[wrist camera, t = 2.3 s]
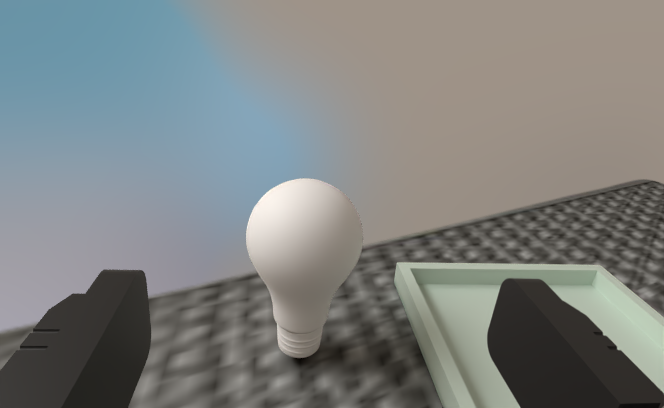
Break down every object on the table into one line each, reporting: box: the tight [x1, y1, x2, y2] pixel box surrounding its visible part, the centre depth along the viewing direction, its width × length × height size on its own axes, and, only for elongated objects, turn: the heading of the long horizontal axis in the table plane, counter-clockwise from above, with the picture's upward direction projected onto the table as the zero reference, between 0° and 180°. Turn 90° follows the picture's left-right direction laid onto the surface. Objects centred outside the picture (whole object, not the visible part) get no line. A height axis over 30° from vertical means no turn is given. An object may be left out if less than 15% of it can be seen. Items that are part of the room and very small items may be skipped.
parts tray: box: [394, 262, 664, 408], centre depth 27 cm, size 17×17×2 cm
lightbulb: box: [246, 179, 363, 358], centre depth 24 cm, size 6×6×11 cm
